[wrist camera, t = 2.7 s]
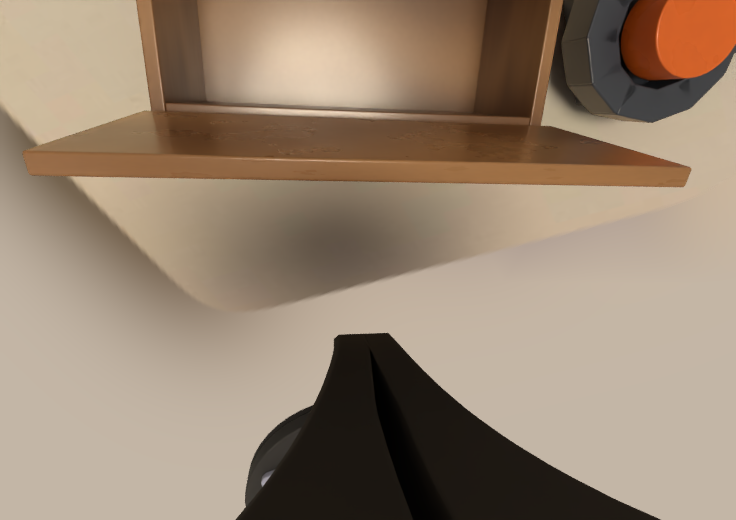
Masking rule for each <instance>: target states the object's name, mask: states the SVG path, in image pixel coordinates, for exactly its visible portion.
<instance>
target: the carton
mask: <svg viewBox="0 0 736 520" xmlns="http://www.w3.org/2000/svg"><path fill="white" fill-rule="evenodd" d="M136 3H137V10H138V17H139V25H140V32H141V39H142V46H143V53H144V61H145V68H146V75H147V82H148V90H149V97H150V104H151V111H168V112H194V113H220V114H246V115H272V116H298V117H324V118H350V119H376V120H402V121H428V122H454V123H481V124H507V125H533V126H541V120H542V115H543V109H544V104H545V98H546V93H547V87H548V82H549V76H550V71H551V65H552V60H553V54H554V49H555V43H556V38H557V32H558V27H559V21H560V16H561V10H562V5H563V0H136Z"/></svg>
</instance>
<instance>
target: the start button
mask: <svg viewBox="0 0 736 520" xmlns="http://www.w3.org/2000/svg"><path fill="white" fill-rule="evenodd" d="M735 44H736V0H638V1H637V2H636V4H635V5H634V6H633V8H632V9H631V11H630V12H629V14H628V16H627V18H626V21H625V23H624V26H623V30H622V35H621V53H622V57H623V60H624V63H625V65H626V66H627V68H628V69H629V70H630V72H631V73H633V74H634V75H635V76H637V77H639V78H641V79H644V80H669V79H687V78H695V77H698V76H701V75H704V74H706V73H708V72H709V71H711V70H713V69H714V68H715V67H717V66H718V65H719V64H720V63H721V62H722V61H723V60H724V59H725V58H726V57H727V56H728V55H729V53H730V52H731V51H732V49H733V48H734V46H735Z"/></svg>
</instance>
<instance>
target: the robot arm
mask: <svg viewBox="0 0 736 520" xmlns="http://www.w3.org/2000/svg"><path fill="white" fill-rule="evenodd" d="M261 484H262V488H261V489H260V491H259V492H258V493H257V494H256V496H255V497H254V498H253V499H252V500H251V502H250V503H249V504H248V505H247V507H246V508H245V509H244V510H243V512H242V513H241V514H240V515H239V516H238V517H237V519H236V520H660V519H658V518H656V517H654V516H651V515H649V514H647V513H644V512H642V511H640V510H637V509H635V508H633V507H631V506H629V505H627V504H624V503H622V502H620V501H618V500H616V499H613V498H611V497H609V496H607V495H605V494H603V493H602V492H600V491H598V490H596V489H594V488H592V487H590V486H588V485H586V484H584V483H582V482H580V481H578V480H576V479H574V478H572V477H571V476H569V475H567V474H565V473H563V472H561V471H560V470H558V469H556V468H554V467H552V466H551V465H549V464H547V463H546V462H544V461H542V460H540V459H539V458H537V457H536V456H534V455H532V454H531V453H529V452H527V451H526V450H524V449H523V448H521V447H519V446H518V445H516V444H515V443H513V442H512V441H510V440H508V439H507V438H505V437H504V436H502V435H501V434H500V433H498V432H497V431H495V430H494V429H492V428H491V427H490V426H488V425H487V424H486V423H484V422H483V421H482V420H480V419H479V418H477V417H476V416H475V415H473V414H472V413H471V412H470V411H468V410H467V409H466V408H464V407H463V406H462V405H461V404H460V403H458V402H457V401H456V400H455V399H454V398H453V397H451V396H450V395H449V394H448V393H447V392H446V391H444V390H443V389H442V388H441V387H440V386H439V385H438V384H437V383H436V382H434V380H433V379H432V378H431V377H430V376H429V375H427V373H426V372H424V371H423V370H422V368H421V367H420V366H419V365H418V364H417V363H416V362H415V361H414V360H413V359H412V358H411V357H410V356H409V355H408V354H407V353H406V352H405V351H404V350H403V348H402V347H401V346H400V345H399V344H398V343H397V342H396V341H395V340H394V339H393V338H392V337H391V336H390V334H389V333H377V334H347V335H338V336H337V337H336V338H335V339H334V351H333V356H332V360H331V363H330V367H329V369H328V372H327V375H326V378H325V380H324V383H323V386H322V388H321V391H320V393H319V395H318V397H317V399H316V401H315V403H314V405H313V407H312V409H311V412H310V414H309V415H308V417H307V419H306V421H305V423H304V425H303V427H302V428H301V430H300V432H299V433H298V435H297V437H296V438H295V440H294V442H293V443H292V445H291V447H290V448H289V450H288V451H287V453H286V454H285V456H284V457H283V459H282V460H281V462H280V463H279V464H278V466H277V467H276V469H275V470H272V471H269V472H267V473H265V474H264V475H263V476H262V481H261Z"/></svg>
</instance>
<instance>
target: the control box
mask: <svg viewBox="0 0 736 520" xmlns="http://www.w3.org/2000/svg"><path fill="white" fill-rule="evenodd" d="M637 1H638V0H563V7H564V15H565V23H566V29H565V32H564V35H563V38H562V41H561V43H562V44H561V47H562V54H563V61H564V69H565V76H566V84H567V85H568V87H569V88H570V90H571V91H572V92H573V93H574V94H575V100H576V104H577V105H584V107H585V108H586V109H587V110H588V111H589V112H590V113H591V114H594V115H599V116H603V117H607V118H612V119H616V120H621V121H633V122H647V123H649V122H651V123H653V122H655V121H658V120H661V119H664V118H666V117H669V116H672V115H674V114H677V113H680V112H682V111H685V110H688V109H690V108H691V107H693V106H694V105H695V104H696V103H697V102H698V101H699V100H700V99H701V98H702V97H703V96H704V95H705V94H706V93H707V92H708V91H709V90H710V89H711V88H712V87H713V86H714V85H715V84H716V83H717V81H718V80H719V79H720V78H721V77H722V76H723V75H724V74H725V73H726V71H727V68H728V66H729V64H730V62H731V59H732V57H733V55H734V53H736V44H735V46H734V48H733V49H732V51H731V52H730V53H729V55H728V56H727V57H726V58H725V59H724V60H723V61H722V62H721V63H720V64H719V65H718V66H717V67H715V68H714V69H713V70H711V71H709V72H708V73H706V74H704V75H701V76H698V77H695V78H687V79H669V80H644V79H641V78H639V77H637V76H635V75H634V74H633V73H631V72H630V70H629V69H628V68H627V66H626V65H625V63H624V60H623V57H622V53H621V35H622V30H623V26H624V23H625V21H626V18H627V16H628V14H629V12H630V11H631V9H632V8H633V6H634V5H635V4H636V2H637Z"/></svg>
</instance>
